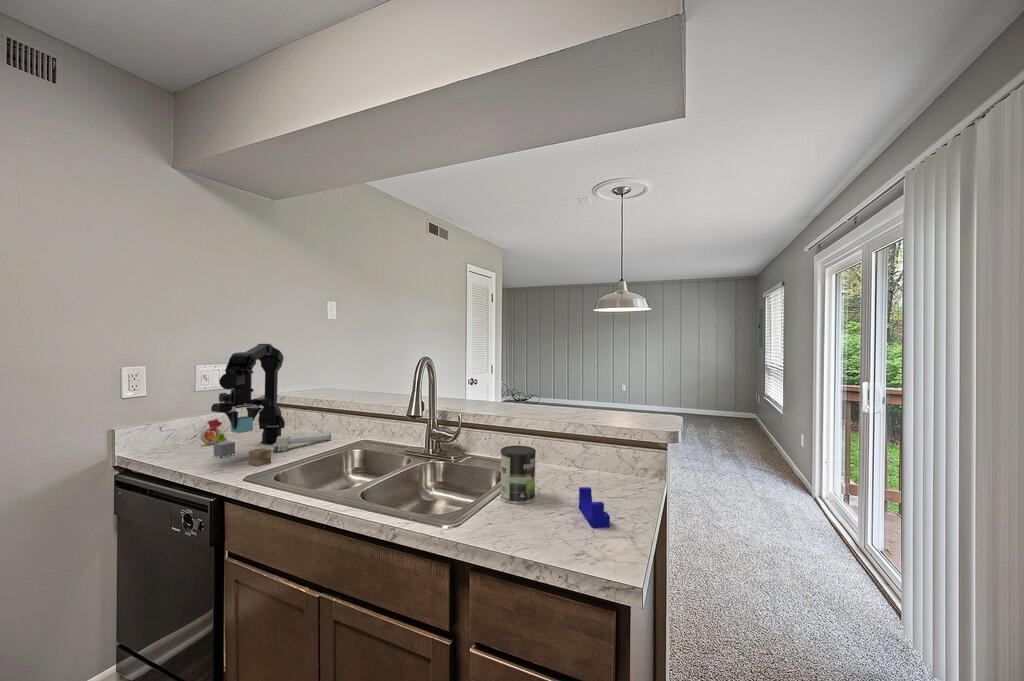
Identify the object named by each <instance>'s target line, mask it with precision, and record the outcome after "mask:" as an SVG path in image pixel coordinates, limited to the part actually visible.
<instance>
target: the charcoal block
mask: <svg viewBox="0 0 1024 681" xmlns="http://www.w3.org/2000/svg"><path fill="white" fill-rule="evenodd" d="M232 454H235V455H236V442H234V441H229V440H226V441H224V442H220V443H219V442H216V443H213V456H214V455H215V456H219V457H223V456H228V455H232ZM228 457H229V456H228Z"/></svg>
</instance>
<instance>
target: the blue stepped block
mask: <svg viewBox="0 0 1024 681" xmlns="http://www.w3.org/2000/svg"><path fill="white" fill-rule="evenodd" d="M592 496H593V495H592V488H591V487H590V486H584V487H583V486H579V488H578V510H579V511H580V513H581V514H582V516H583V517H584V519H585V520H586V521H587V523H588V524H589V525H590V528H591V529H608V528H610V526H611V524H610V523H611V522H610V520H611V518H610V517H611V516H610V514H609V513H608V512H607V511H605V503H604V502H603V501H593V497H592Z"/></svg>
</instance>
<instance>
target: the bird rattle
mask: <svg viewBox="0 0 1024 681" xmlns="http://www.w3.org/2000/svg"><path fill="white" fill-rule="evenodd" d="M207 423H208V426H207V427H206V428H204V429H203V430H202V431H201V433H200V440H201V442H203V444H205V445H206V446H207V445H208V446H210V445H214V444H215V442H216V443H219V442H225V441H228V438H227V437H225V433H224V432H222V433H221V430H220V429H219V427H220V426H221V425H222V424H223V423H222V421H219V419H217V418H215V419H212V420H208V421H207ZM209 444H210V445H209Z"/></svg>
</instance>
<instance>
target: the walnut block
mask: <svg viewBox="0 0 1024 681" xmlns="http://www.w3.org/2000/svg"><path fill="white" fill-rule="evenodd" d="M268 463H269V464H271V463H272V449H269V448H265V447H264V448H263V447H261V448H257V449H251V450H249V451H248V465H249V464H251V465H250V466H253V465H255V466H254V467H257V466H258V467H261V466H260V465H262V466H265V465H268ZM264 464H265V465H264Z"/></svg>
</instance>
